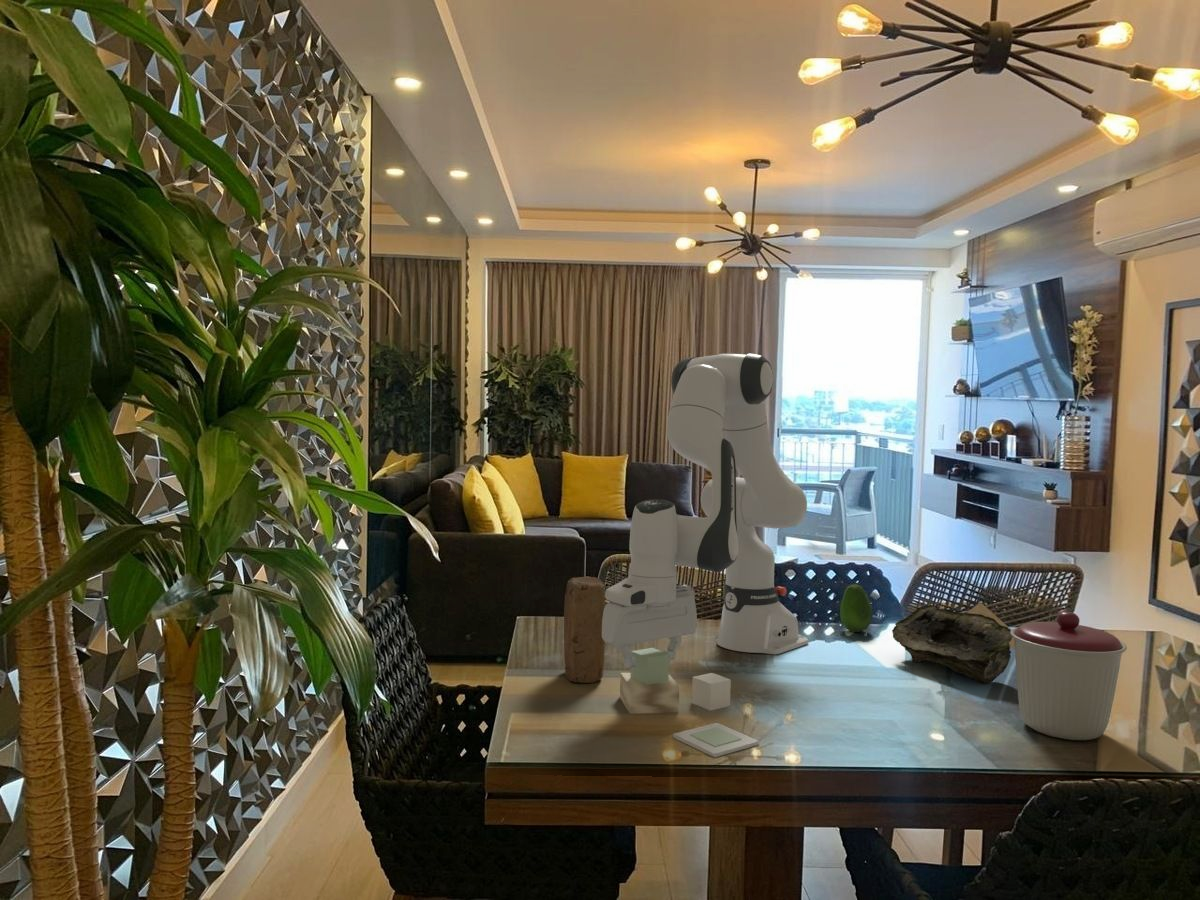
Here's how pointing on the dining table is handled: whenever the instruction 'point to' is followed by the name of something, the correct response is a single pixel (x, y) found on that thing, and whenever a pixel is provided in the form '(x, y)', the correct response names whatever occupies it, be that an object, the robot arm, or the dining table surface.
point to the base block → (649, 695)
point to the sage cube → (650, 666)
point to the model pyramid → (986, 612)
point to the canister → (1066, 676)
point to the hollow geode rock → (956, 641)
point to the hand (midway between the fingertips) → (649, 663)
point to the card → (715, 739)
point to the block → (584, 629)
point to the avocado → (855, 609)
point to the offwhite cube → (711, 691)
